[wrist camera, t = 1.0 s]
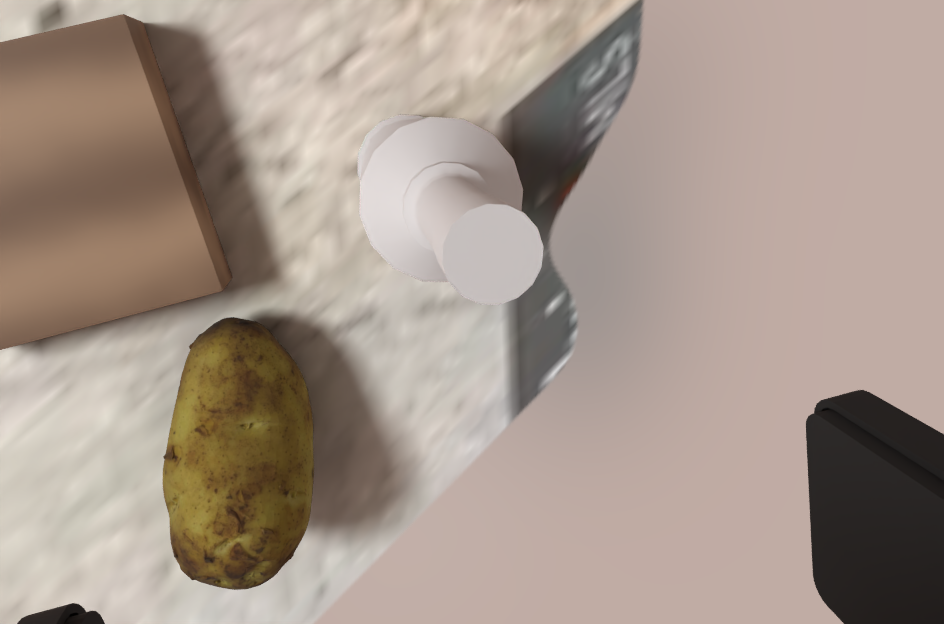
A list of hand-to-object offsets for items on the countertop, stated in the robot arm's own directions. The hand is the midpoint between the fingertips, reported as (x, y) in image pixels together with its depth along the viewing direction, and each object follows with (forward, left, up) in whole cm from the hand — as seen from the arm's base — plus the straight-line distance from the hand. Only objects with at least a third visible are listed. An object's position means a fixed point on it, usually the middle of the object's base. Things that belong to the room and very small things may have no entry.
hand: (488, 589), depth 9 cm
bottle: (-3, +2, -31) cm, 31 cm away
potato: (+9, -10, -31) cm, 34 cm away
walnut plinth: (-6, -15, -31) cm, 35 cm away
